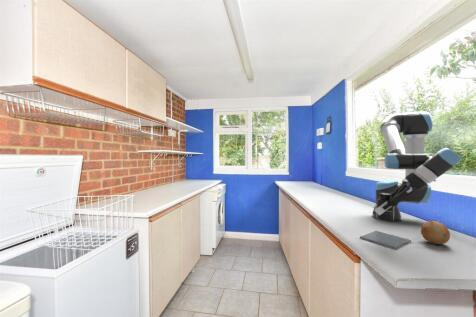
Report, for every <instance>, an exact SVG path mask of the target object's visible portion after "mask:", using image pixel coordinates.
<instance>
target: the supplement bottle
mask: <svg viewBox="0 0 476 317" xmlns="http://www.w3.org/2000/svg"><path fill="white" fill-rule="evenodd" d="M379 197H380V198H379V199H377V208H378V207H380V206H381V205H382V204H384V203H385V202H386V200H388V201H389V200H390V199H391V198H392V194H389V193H379ZM376 217H377V218H376V220H379V221H383V222H384V221H385V222H394V221H393V220H394V206H392V207H390V208H389V209H388V210H386V211H385V212H384V213H382V214H381V215H378V214H377V213H376Z"/></svg>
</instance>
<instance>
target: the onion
mask: <svg viewBox="0 0 476 317" xmlns="http://www.w3.org/2000/svg"><path fill="white" fill-rule="evenodd" d="M450 233H451V232H450V230H449V228H448V227H447V226H446V225H444V224H443V223H442V222H440V221H437V220H430V221H426V222H424V223H423V224H422V226H420V234H421V236H422V238H423V239H424V240H425V241H427V242H429V244H433V245H443V244H444V245H445V244H446V243H448V241H449V240H450V238H451V234H450Z"/></svg>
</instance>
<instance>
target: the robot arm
mask: <svg viewBox="0 0 476 317" xmlns="http://www.w3.org/2000/svg"><path fill="white" fill-rule="evenodd" d="M379 130H380V133H381V134H380V135H382V136H383V139H384V143H385V147H386V151H387V153H386V154H385V156H384V167H385V168H386V169H390V170H405V177H404V178H403V179H402V180H401V183H400V182H399V181H398V180H381V181H378V182H376V183H375V205H374V206H372V208H373V211H372V212H371V213H372V218H375V219H377V217H376V213H377V214H378V215H381V214H382V213H384V212H385V211H386V210H388V209H389V208H390V207H392V206H394V220H393V221H392V222H400V221H402V215H401V211H400V208H399V204H400V203H407V204H408V203H409V204H416V205H418V204H419V205H420V204H421V205H425V204H428V203H429V201H430V200H431V197H432V187H431V185H430V184H431V183H432V182H437V180H436V179H438V178H439V177H441V176H442V175H443V174H445V173H447V172H448V171H449V170H451V169H452V168H454V167H455V166H457V165H458V164H459V162H461V161H462V157H461V155H459V154H458V153H457V152H456V151H454V150H452V149H450V148H448V147H443V148H442V149H440V150H438V151H437V152H436V153H434V152H429V153H425V137H427V136H428V135H429V133H430V132H431V131H432V130H433V118H432V115H431V114H430V112H428V111H415V112H414V111H412V112H402V113H401V112H400V113H399V112H398V113H393V114H391V115H389V116H387V117H385V119H384V120H383V121H382V122H381V124H380V129H379ZM401 133H402V136H403V137H404V138H405V145H404V142H403V139H402V136H401ZM379 193H389V194H392V198H391V199H390V200H389V201H388V200H386V202H385V203H384V204H382V205H381V206H380V207H378V208H377V199H379V198H380V197H379Z"/></svg>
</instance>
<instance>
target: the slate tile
mask: <svg viewBox="0 0 476 317" xmlns="http://www.w3.org/2000/svg"><path fill="white" fill-rule="evenodd" d="M359 239H362V240H364V241H367V242H372V243H374V244H378V245H380V246H384V247H387V248H391V249H393V250H398V249H399V248H403V247H404V246H405V245H408V244H410V243H412V240H411V239H409V238H405V237H401V236H398V235H394V234H390V233H387V232H382V231H379V230H374V231H370V232H368V233H366V234H363V235H361V236H359Z"/></svg>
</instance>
